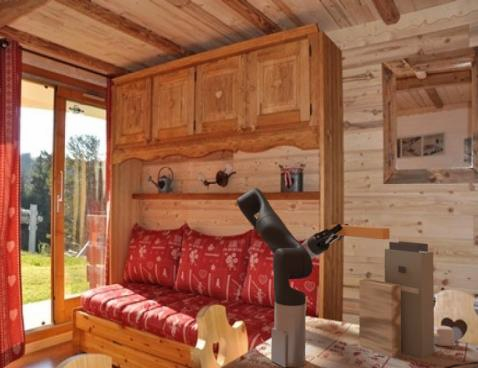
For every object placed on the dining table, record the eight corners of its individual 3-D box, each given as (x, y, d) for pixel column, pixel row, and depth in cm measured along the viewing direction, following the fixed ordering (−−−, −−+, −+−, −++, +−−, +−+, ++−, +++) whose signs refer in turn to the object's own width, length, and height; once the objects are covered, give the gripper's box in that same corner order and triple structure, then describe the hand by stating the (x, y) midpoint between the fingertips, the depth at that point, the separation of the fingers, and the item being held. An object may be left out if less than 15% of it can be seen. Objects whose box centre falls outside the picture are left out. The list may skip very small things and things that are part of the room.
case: (421, 358, 119) (420, 245, 121) (384, 345, 130) (384, 241, 132) (434, 353, 124) (433, 244, 126) (397, 341, 134) (396, 240, 136)
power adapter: (420, 345, 130) (420, 328, 131) (415, 340, 135) (415, 323, 136) (455, 347, 129) (455, 329, 129) (449, 342, 134) (449, 325, 134)
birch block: (391, 357, 120) (391, 286, 121) (359, 345, 130) (359, 280, 131) (401, 353, 123) (400, 284, 124) (368, 342, 132) (368, 278, 134)
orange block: (382, 239, 125) (382, 228, 125) (330, 234, 143) (330, 224, 143) (389, 239, 127) (389, 228, 127) (337, 234, 145) (337, 224, 145)
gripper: (297, 238, 150) (327, 216, 138) (323, 237, 158) (353, 216, 146) (304, 256, 146) (335, 236, 134) (330, 254, 154) (361, 235, 142)
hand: (344, 226), depth 140 cm, fingers closed on orange block, 3 cm apart
